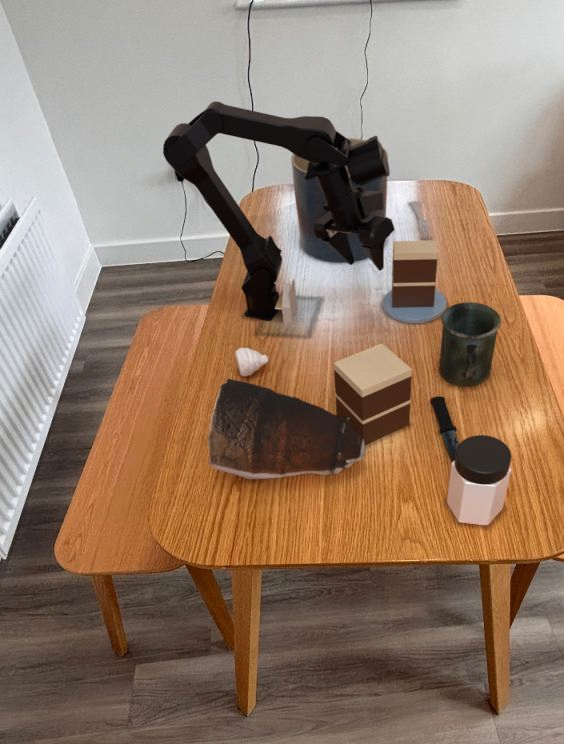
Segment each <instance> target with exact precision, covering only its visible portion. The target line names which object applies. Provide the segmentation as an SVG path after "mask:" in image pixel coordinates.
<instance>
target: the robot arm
mask: <svg viewBox="0 0 564 744" xmlns="http://www.w3.org/2000/svg"><path fill="white" fill-rule="evenodd" d="M218 134H222V135H225V136H230V137H235V138H238V139H245V140H249V141H253V142H257V143H262V144H266V145H270V146H271V145H272V146H277V147H281V148H283V149H285V150H287V151H289V152H290V153H292V155H293V154H295V155H296V156H298V157H300V158H302V159H305V160H307V161H309V163H308V169H307V171H306V174H305V177H304V178H305V180H309V179H311V178H314V177H316V178H317V180H318V183H319V185H320V188H321V190H322V193H323V195H324V198H325V201H326V203H325V204H324V205H323V208H324V210H325V211H329V212H328V213H327V214H325V215H324V216H323V217H322V218H320V219H319V220H318V221H317V222H315V224H314V228H313V230H314V233H315V235H316V237H317V238H320V239H321V240H322V242H325V243H326V244H327V245H328V246H329V247H331V248H332V249H333V250H334V251H335V252H336V253H338V254H339V255H340V256H341V257H342V258H343V259H344V260H345V261H346V262H345V263H348V264H349V266H352V265H354V264H355V261H354V258H353V254H352V250H351V247H350V244H349V241H348V237H347V234H348V233H350V232H352V233H359V234H358V238H359V240H360V242H361V243H362V244H363V245H362V246H361V247H362V248H363V250H364V251H365V253H366V254H367V255H368V257H367V258H369V259H370V261H371V262H372V264H373V265H374V266H375V268H376V269H377V270H378V271H382V270H383V269H384V267H385V263H384V261H385V260H384V259H385V257H384V256H385V255H384V254H385V251H384V250H385V242H386V240H387V238H388V237H390V236H391V234H392V233H393V232H394V231H395V230H396V229H395V225H394V222H393V220H392V219H391V218H389V217H387V216H386V217H378V216H375V217H374V218H372V219H371V220H370V221H369V222H367V223H365V222H364V219H365V218H366V219H367V218H368V217H369V216H370V212H371V211H375V210H383V209H384V202H383V192H382V191H364V190H363V188H362V187H353V186H352V183H351V180H350V178H349V175H348V172H347V169H346V165H347V168H348V171H349V174H350V177H351V179H352V181H353V182H355V184H356V185H357V184H359V185H360V186H362V185H365V184H368V183H370V182H373V181H376V180H379V179H382V178H385V177H387V178H388V177H389V176H390V173H391V172H390V165H389V159H388V160H387V156H386V152H387V151H386V152H385V150H386V149H385V150H383V148H384V147H383V145H382V143H381V142H380V139H379V137H378V136H377V135H373V136H371V137H369V138H368V139H365V140H366V141H364V142H361V143H358V144H356V145H353V146H351V145H352V142H351V141H350V140H348V139H347V138H348V137H346V136H345V135H343V134H341V132H339V131H338V130H336V128H335V126H334V124H333V123H332V121H331V120H330V119H329V118H327V117H324V116H314V115H313V116H310V115H303V116H297V117H281V116H278V115H274V114H269V113H265V112H260V111H256V110H251V109H248V108H247V109H246V108H242V107H237V106H232V105H228V104H224V103H222V102H220V101H212V102H210V103H209V104H208V105H207V107H206V108H205V109H204V110H203V111H201V112H199V114H197V115H196V116H195V117H194V118H192V120H190V121H189V122H188V123H186V122H183V123H182V122H181V123H178V124H177V125H175V127H173V129H172V130H171V132H170V133H169V135H168V136H167V137H166V139H165V140H164V142H163V146H162V147H163V148H162V154H163V157H164V159H165V161H166V162H167V163H168V164H169V166H170V167H171V168H172V169H173V170H174V171H175V172H176V173H177V175H179V176H180V177H181V178H183V179H184V180H185V181H188V182H189V183H190V184H192V185H194V187H195V188H196V189H197V190H198V192H199V193H200V195H201V196H202V197H203V199H204V200H205V202H206V203H207V204H208V205H209V206H208V207H210V209H211V210H212V212H213V213H214V215H215V217H216V218H218V220H219V222H220V223H221V224H222V226H223V228H225V230H226V232H227V233H228V234H229V236H230V237H231V239H232V240H233V241H234V243H235V244H236V246H237V247H238V249H239V251H240V254H241V257H242V260H243V265H244V266H245V270H246V274H245V276H244V279H243V282H242V284H241V288H240V289H241V290H242V292H243V294H244V296H245V303H246V310H245V312H244V313H243V315H244V317H248V318H252V319H259V320H263V321H268V322H271V321H272V320H273V319H274V317H275V316H276V315H277V313H278V312H279V311H280V310H281V309H275V307H276V304H277V302H278V299H279V297H280V294H279V291H277V284H276V282H277V280H278V278H279V274H280V271H281V268H282V264H283V257H282V249H280V248H279V247H278V245H277V244H276V242H275V241H274V239H273V237H272V235H268V236H267V237H266V238H265V237H263V236H261V235H260V234H258V232H257V231H256V229H255V228H254V227H253V225H252V223H251V222H250V221H249V218H247V216H246V215H245V213H244V212H243V210H242V208H240V206H239V204H238V203H237V201H236V200H235V198H234V197H233V195H232V193H231V192H230V191H229V190H228V188H227V186H226V185H225V183H224V182H223V181H222V179H221V178H220V176H219V175H218V173H217V171H216V170H215V168H214V165H213V161H212V157H211V154H210V151H209V148H208V146H207V144H208V143H209V142H211V140H212V139H214V138H215V136H217V135H218ZM336 148H337V149H338V150H337V149H336Z"/></svg>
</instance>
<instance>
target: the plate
mask: <svg viewBox="0 0 564 744" xmlns="http://www.w3.org/2000/svg"><path fill="white" fill-rule="evenodd" d="M447 303H448V301H447V298H446V296H445V295H444V294H443V293H442V292H441V291H440V290H438V289H436V288H435V296H434V307H402V308H393V307H392V289H391V290H389V291H388V292H386V294H385V296H384V297H383V300H382V307H383V310H384V312H385V314H386V315H387V316H388V317H390V318H391V319H393V320H395V321H399V322H402V323H407V324H423V323H428V322H432V321H434V320H437V319H438V318H440V317H442V314H443V312H444V311H445V310H446V309H447Z"/></svg>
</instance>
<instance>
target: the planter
mask: <svg viewBox="0 0 564 744" xmlns="http://www.w3.org/2000/svg"><path fill="white" fill-rule="evenodd" d="M346 138H347V139H348V140H350V141H351V142H352V145H351V146H353V145H356V144H358V143H361V142H364V141H366V140H367V139H360V138H352V137H346ZM336 149H337V148H336ZM337 150H338V149H337ZM383 150H385V152H386V156H387V160H388V161H389V154H388V152H387V150H386V149H385V148H384V147H383ZM290 163H291V171H292V180H293V190H294V199H295V207H296V208H295V209H296V216H297V223H298V231H299V239H300V245H301V246H300V247H301V248H302V250H303V251H304V252H305V253H306V254H307V255H309V256H310V257H313V258H314V259H317V260H320V261H324V262H330V263H347V262H346V261H345V260H344V259H343V258H342V257H341V256H340V255H339V254H338V253H336V252H335V251H334V250H333V249H332V248H331V247H329V246H328V245H327V244H326V243H325V242H322V240H321V239H320V238H317V237H316V235H315V233H314V230H313V228H314V224H315V222H317V221H318V220H319V219H320V218H322V217H323V216H324V215H325V214H327V213H328V212H329V211H325V210H324V208H323V205H324V204H325V203H326V201H325V198H324V195H323V193H322V190H321V188H320V185H319V183H318V180H317V178H316V177H314V178H311V179H309V180H305V178H304V177H305V174H306V171H307V169H308V163H309V161H307V160H305V159H302V158H300V157H298V156H296V155H295V154H293V153H292V155H291V158H290ZM346 169H347V172H348V175H349V178H350V180H351V183H352V186H353V187H362V188H363V190H364V191H382V192H383V202H384V209H383V210H375V211H371V212H370V216H369V217H368V218H367V219H366V218H365V219H364V222H365V223H367V222H369V221H370V220H371V219H372V218H374V217H375V216H378V217H387V200H388V176H387V177H385V178H382V179H379V180H376V181H373V182H370V183H368V184H365V185H362V186H360V185H359V184H357V185H356V184H355V182H353V181H352V179H351V177H350V174H349V171H348V168H347V165H346ZM358 234H359V233H352V232H350V233H348V234H347V237H348V241H349V244H350V247H351V250H352V254H353V258H354V262H357V261H361V260H364V259H365V260H366V259H368V258H369V257H368V255H367V254H366V253H365V251H364V250H363V248H362V247H361V246H362V245H363V244H362V243H361V242H360V240H359V238H358Z"/></svg>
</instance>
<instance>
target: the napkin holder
mask: <svg viewBox="0 0 564 744" xmlns="http://www.w3.org/2000/svg"><path fill="white" fill-rule="evenodd" d="M275 309H280V310H281V312H282V320H283V324H293V322H294V320H295V317H296V314H297V313H298V312H297V311H298V301H297V293H296V282H295V278H292V281H291V283H290V280H289V283H283V285H282V290H281V292H280V294H279V299H278V302H277V304H276V307H275Z"/></svg>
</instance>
